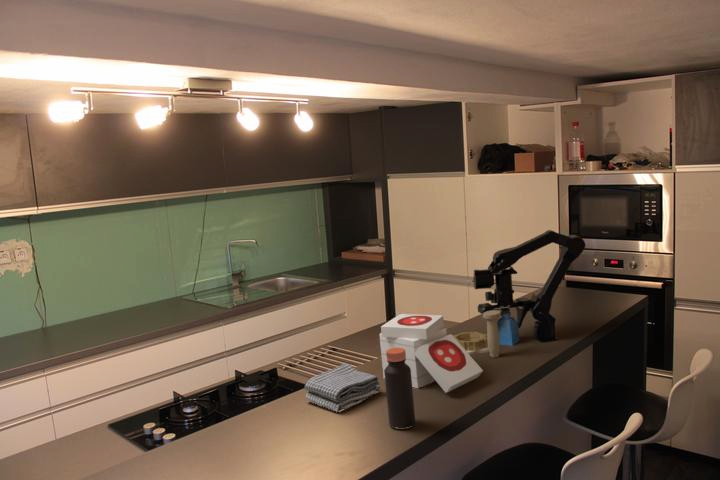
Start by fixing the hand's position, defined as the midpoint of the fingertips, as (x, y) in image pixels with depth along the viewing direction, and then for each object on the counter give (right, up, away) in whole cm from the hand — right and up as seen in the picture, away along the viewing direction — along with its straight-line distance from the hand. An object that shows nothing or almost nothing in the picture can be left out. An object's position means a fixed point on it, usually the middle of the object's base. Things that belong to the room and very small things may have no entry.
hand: (506, 329), depth 214 cm
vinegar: (-41, -16, -57) cm, 72 cm away
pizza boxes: (-30, -12, -28) cm, 43 cm away
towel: (-57, -15, -36) cm, 69 cm away
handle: (-7, -7, -13) cm, 16 cm away
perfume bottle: (0, -5, +1) cm, 5 cm away
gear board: (-13, -6, -2) cm, 15 cm away
